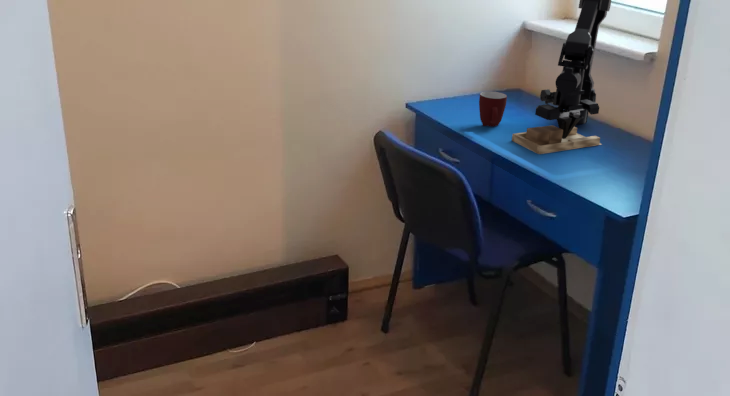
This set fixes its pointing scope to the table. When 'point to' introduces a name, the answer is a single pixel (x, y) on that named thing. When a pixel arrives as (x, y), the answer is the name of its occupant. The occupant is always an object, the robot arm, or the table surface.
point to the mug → (492, 107)
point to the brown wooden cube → (538, 135)
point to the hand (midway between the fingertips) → (563, 138)
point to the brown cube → (554, 134)
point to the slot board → (569, 143)
